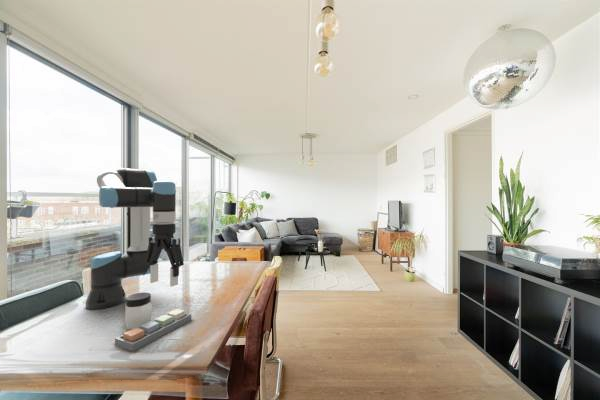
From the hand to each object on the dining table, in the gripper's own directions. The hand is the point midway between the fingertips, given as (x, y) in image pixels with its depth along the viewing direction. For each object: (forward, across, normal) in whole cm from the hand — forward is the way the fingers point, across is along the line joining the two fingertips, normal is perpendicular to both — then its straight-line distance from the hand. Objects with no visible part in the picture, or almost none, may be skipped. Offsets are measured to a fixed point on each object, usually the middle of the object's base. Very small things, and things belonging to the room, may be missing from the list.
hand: (164, 283), depth 94 cm
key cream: (+15, 0, +5) cm, 16 cm away
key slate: (+15, 0, -6) cm, 16 cm away
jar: (+18, -12, -2) cm, 21 cm away
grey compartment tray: (+18, 0, -3) cm, 18 cm away
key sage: (+15, 0, 0) cm, 15 cm away
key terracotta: (+15, 0, -11) cm, 18 cm away
